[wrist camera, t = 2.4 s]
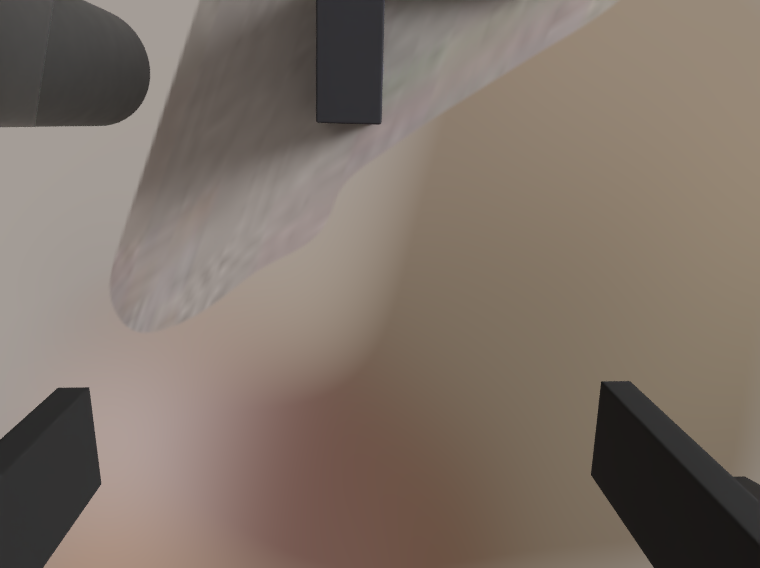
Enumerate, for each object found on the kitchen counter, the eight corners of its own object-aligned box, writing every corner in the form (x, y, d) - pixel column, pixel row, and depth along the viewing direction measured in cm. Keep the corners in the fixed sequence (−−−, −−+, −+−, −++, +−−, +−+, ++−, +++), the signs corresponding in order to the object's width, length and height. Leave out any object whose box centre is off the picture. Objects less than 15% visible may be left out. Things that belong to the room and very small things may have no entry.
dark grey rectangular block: (325, 122, 37) (316, 122, 28) (326, -19, 35) (316, -72, 26) (373, 124, 37) (381, 124, 28) (377, -17, 35) (386, -70, 26)
